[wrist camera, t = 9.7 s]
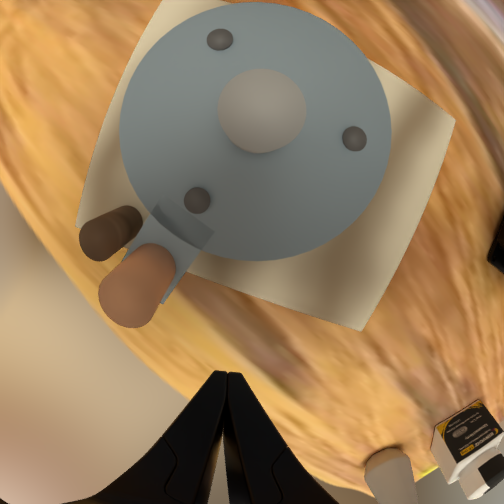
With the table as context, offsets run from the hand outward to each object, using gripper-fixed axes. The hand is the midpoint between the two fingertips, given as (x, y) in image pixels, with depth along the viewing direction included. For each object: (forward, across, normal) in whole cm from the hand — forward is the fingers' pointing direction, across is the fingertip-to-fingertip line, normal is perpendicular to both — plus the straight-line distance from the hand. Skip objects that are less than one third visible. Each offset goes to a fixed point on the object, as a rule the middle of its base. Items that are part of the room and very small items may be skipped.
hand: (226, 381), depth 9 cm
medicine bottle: (+10, -30, +19) cm, 37 cm away
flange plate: (+8, +1, -7) cm, 10 cm away
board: (+10, -1, -7) cm, 12 cm away
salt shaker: (+10, -20, +23) cm, 32 cm away
